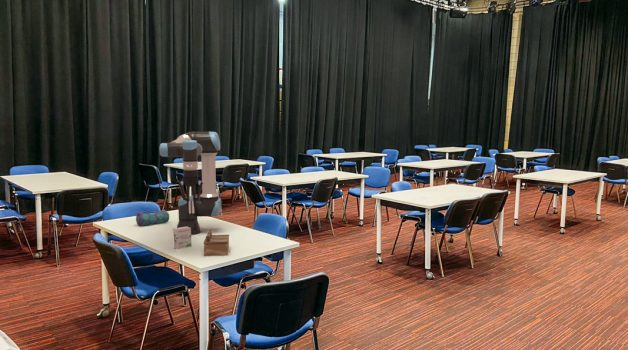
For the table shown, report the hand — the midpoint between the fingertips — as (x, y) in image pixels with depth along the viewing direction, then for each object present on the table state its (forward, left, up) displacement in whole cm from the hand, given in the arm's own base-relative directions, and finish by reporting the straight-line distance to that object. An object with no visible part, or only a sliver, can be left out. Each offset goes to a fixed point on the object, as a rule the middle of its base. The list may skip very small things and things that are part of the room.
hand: (191, 212), depth 256 cm
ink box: (-12, -7, -23) cm, 27 cm away
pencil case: (-78, -37, -23) cm, 89 cm away
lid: (0, +13, -15) cm, 20 cm away
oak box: (0, +13, -22) cm, 26 cm away
